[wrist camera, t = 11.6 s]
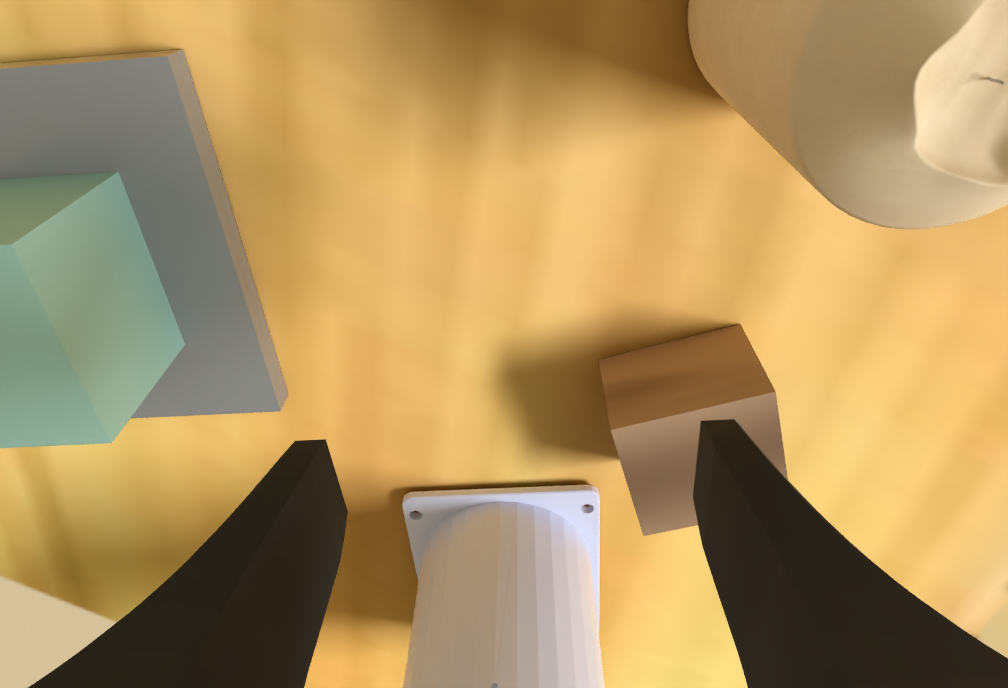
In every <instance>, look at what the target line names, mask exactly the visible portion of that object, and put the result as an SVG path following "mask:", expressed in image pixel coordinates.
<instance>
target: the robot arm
mask: <svg viewBox="0 0 1008 688" xmlns="http://www.w3.org/2000/svg"><path fill="white" fill-rule="evenodd" d="M693 501H694V506H695V511H696V516H697V521H698V526H699V531H700V536H701V540H702V545H703V549H704V552H705V555H706V558H707V561H708V564H709V567H710V570H711V573H712V576H713V579H714V583H715V586H716V589H717V592H718V595H719V598H720V601H721V603H722V606H723V609H724V612H725V615H726V618H727V621H728V624H729V627H730V630H731V633H732V636H733V639H734V642H735V645H736V648H737V651H738V654H739V657H740V661H741V664H742V668H743V671H744V675H745V678H746V682H747V686H748V688H1008V658H1006V657H1004V656H1003V655H1001V654H1000V653H998V652H996V651H995V650H993V649H992V648H990V647H988V646H987V645H985V644H983V643H982V642H981V641H979V640H977V639H976V638H974V637H973V636H971V635H970V634H968V633H967V632H965V631H964V630H962V629H961V628H960V627H958V626H957V625H955V624H954V623H953V622H951V621H950V620H948V619H947V618H945V617H944V616H943V615H941V614H940V613H938V612H937V611H936V610H934V609H933V608H931V607H930V606H928V605H927V604H926V603H924V602H923V601H921V600H920V599H919V598H917V597H916V596H915V595H913V594H912V593H911V592H909V591H908V590H907V589H905V588H904V587H903V586H901V585H900V584H899V583H898V582H896V581H895V580H894V579H893V578H891V577H890V576H889V575H888V574H887V573H885V572H884V571H883V570H882V569H880V568H879V567H878V566H877V565H876V564H874V563H873V562H872V561H871V560H870V559H868V558H867V557H866V556H865V555H864V554H863V553H862V552H860V551H859V550H858V549H857V548H856V547H855V546H854V545H853V544H852V543H850V542H849V541H848V540H847V539H846V538H845V537H844V536H843V535H842V534H841V533H840V532H839V531H838V530H836V529H835V528H834V527H833V526H832V525H831V524H830V523H829V522H828V521H827V520H826V519H825V518H824V517H823V516H822V515H821V514H820V513H819V512H818V511H817V510H816V509H815V508H814V507H813V506H812V505H811V504H810V503H809V502H808V501H807V500H806V499H805V498H804V497H803V496H802V495H801V494H800V493H799V492H798V491H797V489H796V488H795V487H794V486H793V485H792V484H791V483H790V482H789V481H788V480H787V479H786V478H785V477H784V476H783V474H782V473H781V472H780V471H779V470H778V469H777V468H776V467H775V466H774V464H773V463H772V462H771V461H770V460H769V459H768V458H767V456H766V455H765V454H764V453H763V452H762V451H761V450H760V448H759V447H758V446H757V445H756V444H755V442H754V441H753V440H752V439H751V438H750V436H749V435H748V434H747V433H746V432H745V430H744V429H743V428H742V427H741V426H740V424H739V423H738V422H736V421H735V420H734V419H726V420H706V421H701V423H700V433H699V442H698V452H697V462H696V471H695V481H694V490H693ZM586 504H590V506H583V505H586ZM402 509H403V513H404V518H405V523H406V527H407V532H408V537H409V541H410V546H411V550H412V555H413V560H414V564H415V569H416V574H417V578H418V589H417V596H416V602H415V609H414V616H413V623H412V630H411V637H410V644H409V651H408V658H407V664H406V671H405V678H404V685H403V688H605V686H604V677H603V668H602V659H601V650H600V641H599V632H598V631H599V567H600V496H599V491H598V489H597V488H596V487H594V486H592V485H566V486H541V487H516V488H491V489H467V490H442V491H417V492H409V493H407V494H405V496H404V497H403V501H402ZM413 511H419V513H416V512H413ZM347 514H348V511H347V508H346V505H345V502H344V498H343V495H342V492H341V488H340V485H339V482H338V478H337V475H336V472H335V469H334V465H333V462H332V459H331V455H330V452H329V449H328V446H327V442H326V439H325V440H305V441H295V442H294V443H293V444H292V445H291V446H290V447H289V448H288V450H287V451H286V452H285V453H284V454H283V455H282V456H281V458H280V459H279V460H278V461H277V462H276V463H275V465H274V466H273V467H272V468H271V469H270V471H269V472H268V473H267V474H266V475H265V476H264V478H263V479H262V480H261V481H260V482H259V483H258V485H257V486H256V487H255V488H254V489H253V490H252V492H251V493H250V494H249V495H248V496H247V497H246V498H245V500H244V501H243V502H242V503H241V504H240V505H239V506H238V507H237V509H236V510H235V511H234V512H233V513H232V514H231V515H230V516H229V518H228V519H227V520H226V521H225V522H224V523H223V524H222V525H221V526H220V527H219V529H218V530H217V531H216V532H215V533H214V534H213V535H212V536H211V537H210V538H209V539H208V540H207V541H206V542H205V543H204V544H203V545H202V546H201V547H200V548H199V549H198V550H197V551H196V552H195V553H194V554H193V555H192V556H191V557H190V558H189V559H188V561H187V562H186V563H184V564H183V565H182V566H181V567H180V568H179V569H178V570H177V571H176V572H175V573H174V574H173V575H172V576H171V577H170V578H169V579H168V580H167V581H165V582H164V583H163V584H162V585H161V586H160V587H159V588H158V589H156V590H155V591H154V592H153V593H152V594H151V595H150V596H148V597H147V598H146V599H145V600H144V601H143V602H142V603H140V604H139V605H138V606H137V607H136V608H135V609H133V610H132V611H131V612H130V613H128V614H127V615H126V616H125V617H123V618H122V619H121V620H120V621H118V622H117V623H116V624H114V625H113V626H112V627H111V628H110V629H108V630H107V631H106V632H104V633H103V634H102V635H100V636H99V637H98V638H97V639H95V640H94V641H93V642H92V643H90V644H89V645H88V646H87V647H85V648H84V649H83V650H81V651H80V652H79V653H77V654H76V655H74V656H73V657H72V658H70V659H69V660H68V661H66V662H65V663H63V664H62V665H61V666H59V667H58V668H56V669H55V670H54V671H52V672H51V673H49V674H48V675H46V676H45V677H43V678H42V679H40V680H39V681H37V682H36V683H34V684H33V685H31V686H30V687H28V688H304V686H305V682H306V678H307V674H308V670H309V666H310V663H311V660H312V656H313V653H314V649H315V646H316V643H317V639H318V636H319V632H320V629H321V626H322V622H323V619H324V615H325V612H326V609H327V605H328V602H329V598H330V595H331V591H332V588H333V584H334V581H335V577H336V574H337V570H338V567H339V563H340V558H341V553H342V547H343V541H344V534H345V527H346V521H347Z"/></svg>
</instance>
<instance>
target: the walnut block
mask: <svg viewBox="0 0 1008 688" xmlns="http://www.w3.org/2000/svg"><path fill="white" fill-rule="evenodd" d="M598 361H599V367H600V373H601V378H602V384H603V390H604V396H605V401H606V407H607V413H608V419H609V424H610V430H611V433H612V436H613V440H614V443H615V446H616V449H617V452H618V456H619V459H620V462H621V465H622V468H623V472H624V475H625V478H626V481H627V484H628V488H629V491H630V494H631V497H632V500H633V504H634V507H635V510H636V513H637V516H638V519H639V523H640V526H641V529H642V532H643V535H644V536H646V535H651V534H656V533H661V532H666V531H671V530H676V529H680V528H685V527H690V526H695V525H698V521H697V516H696V511H695V506H694V501H693V490H694V481H695V471H696V462H697V452H698V442H699V433H700V423H701V421H706V420H726V419H734V420H735V421H736V422H738V423H739V424H740V426H741V427H742V428H743V429H744V430H745V432H746V433H747V434H748V435H749V436H750V438H751V439H752V440H753V441H754V442H755V444H756V445H757V446H758V447H759V448H760V450H761V451H762V452H763V453H764V454H765V455H766V456H767V458H768V459H769V460H770V461H771V462H772V463H773V464H774V466H775V467H776V468H777V469H778V470H779V471H780V472H781V473H782V474H783V476H784V477H785V478H786V479H787V480H788V478H787V470H786V463H785V456H784V449H783V442H782V434H781V427H780V420H779V413H778V406H777V399H776V392H775V390H774V388H773V386H772V384H771V382H770V380H769V378H768V376H767V374H766V372H765V371H764V369H763V367H762V365H761V363H760V361H759V359H758V357H757V355H756V353H755V351H754V349H753V348H752V346H751V344H750V342H749V340H748V338H747V336H746V334H745V332H744V330H743V328H742V326H741V325H740V324H738V325H734V326H730V327H726V328H722V329H718V330H714V331H710V332H706V333H702V334H698V335H694V336H690V337H686V338H682V339H678V340H674V341H670V342H667V343H663V344H659V345H655V346H651V347H647V348H643V349H639V350H635V351H631V352H627V353H623V354H619V355H615V356H611V357H607V358H603V359H599V360H598Z"/></svg>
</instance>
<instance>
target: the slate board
mask: <svg viewBox="0 0 1008 688" xmlns="http://www.w3.org/2000/svg"><path fill="white" fill-rule="evenodd" d="M105 172H119V175H120V177H121V180H122V183H123V185H124V188H125V190H126V193H127V196H128V198H129V201H130V203H131V206H132V208H133V211H134V214H135V216H136V219H137V221H138V224H139V227H140V229H141V232H142V234H143V237H144V239H145V242H146V245H147V247H148V250H149V252H150V255H151V258H152V260H153V263H154V265H155V268H156V270H157V273H158V276H159V278H160V281H161V283H162V286H163V289H164V291H165V294H166V296H167V299H168V301H169V304H170V307H171V309H172V312H173V314H174V317H175V320H176V322H177V325H178V327H179V330H180V332H181V335H182V338H183V340H184V343H185V345H184V347H183V348H182V349H181V351H180V352H179V353H178V355H177V356H176V357H175V359H174V360H173V361H172V363H171V364H170V365H169V367H168V368H167V369H166V371H165V372H164V374H163V375H162V376H161V378H160V379H159V380H158V382H157V383H156V384H155V386H154V387H153V388H152V390H151V391H150V392H149V394H148V395H147V396H146V398H145V399H144V400H143V402H142V403H141V404H140V406H139V407H138V408H137V410H136V411H135V412H134V414H133V415H132V416H131V418H148V417H169V416H190V415H211V414H232V413H253V412H275V411H281V409H282V407H283V405H284V403H285V401H286V398H287V396H288V391H287V388H286V385H285V382H284V378H283V375H282V372H281V369H280V365H279V362H278V359H277V355H276V352H275V349H274V346H273V342H272V339H271V336H270V332H269V329H268V326H267V323H266V319H265V316H264V313H263V310H262V306H261V303H260V300H259V296H258V293H257V290H256V287H255V283H254V280H253V277H252V273H251V270H250V267H249V264H248V260H247V257H246V254H245V251H244V247H243V244H242V241H241V237H240V234H239V231H238V228H237V224H236V221H235V218H234V214H233V211H232V208H231V205H230V201H229V198H228V195H227V191H226V188H225V185H224V182H223V178H222V175H221V172H220V169H219V165H218V162H217V159H216V155H215V152H214V149H213V146H212V142H211V139H210V136H209V132H208V129H207V126H206V123H205V119H204V116H203V113H202V110H201V106H200V103H199V100H198V96H197V93H196V90H195V87H194V83H193V80H192V77H191V73H190V70H189V67H188V64H187V60H186V57H185V54H184V51H183V49H179V50H166V51H153V52H139V53H126V54H113V55H100V56H87V57H74V58H61V59H48V60H35V61H22V62H9V63H0V179H14V178H29V177H44V176H59V175H74V174H89V173H105Z"/></svg>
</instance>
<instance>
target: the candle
mask: <svg viewBox="0 0 1008 688" xmlns="http://www.w3.org/2000/svg"><path fill="white" fill-rule="evenodd" d="M688 31H689V39H690V44H691V48H692V51H693V55H694V58H695V60H696V62H697V65H698V67H699V69H700V71H701V72H702V74H703V76H704V77H705V79H706V80H707V81H708V82H709V84H710V85H711V86H712V87H713V88H714V89H715V91H716V92H717V93H718V94H719V95H720V96H721V97H722V98H723V99H724V100H725V101H726V102H727V103H728V104H729V105H730V106H731V107H732V108H733V109H734V110H735V111H736V112H737V113H738V114H739V115H740V116H741V117H743V118H744V119H745V120H746V121H747V122H748V123H749V124H750V125H751V126H752V127H753V128H754V129H755V130H756V131H757V132H758V133H759V134H760V135H761V136H762V137H763V138H764V139H765V140H766V141H767V142H768V143H769V144H770V145H771V146H772V147H773V148H774V149H775V150H776V151H777V152H778V153H779V154H780V155H781V156H782V157H783V158H785V159H786V160H787V161H788V162H789V163H790V164H791V165H792V166H793V167H794V168H795V169H796V170H797V171H798V172H799V173H800V174H801V175H802V176H803V177H804V178H805V179H806V180H807V181H808V182H809V183H810V184H811V185H812V186H813V187H814V188H815V189H816V190H817V191H818V192H820V193H821V194H822V195H823V196H824V197H825V198H826V199H827V200H828V201H830V202H831V203H832V204H833V205H834V206H836V207H837V208H839V209H840V210H842V211H844V212H845V213H847V214H848V215H850V216H852V217H855V218H857V219H860V220H862V221H864V222H867V223H871V224H875V225H878V226H882V227H889V228H897V229H928V228H936V227H944V226H948V225H953V224H957V223H961V222H965V221H968V220H971V219H974V218H977V217H980V216H983V215H986V214H988V213H991V212H993V211H995V210H997V209H1000V208H1002V207H1004V206H1006V205H1008V0H689V6H688Z"/></svg>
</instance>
